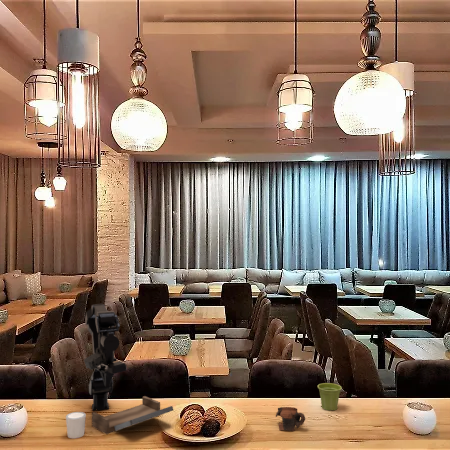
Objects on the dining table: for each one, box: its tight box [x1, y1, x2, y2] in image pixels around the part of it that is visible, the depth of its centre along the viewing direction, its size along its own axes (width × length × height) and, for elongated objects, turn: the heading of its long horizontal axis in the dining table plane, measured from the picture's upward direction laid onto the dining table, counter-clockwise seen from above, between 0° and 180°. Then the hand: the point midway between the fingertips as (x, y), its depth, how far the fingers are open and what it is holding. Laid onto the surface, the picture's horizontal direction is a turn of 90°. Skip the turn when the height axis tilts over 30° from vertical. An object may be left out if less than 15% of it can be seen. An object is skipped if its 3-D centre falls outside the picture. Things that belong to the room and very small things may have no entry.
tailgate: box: [114, 405, 174, 432], centre depth 179 cm, size 2×18×12 cm
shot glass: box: [65, 411, 87, 439], centre depth 175 cm, size 7×7×7 cm
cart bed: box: [91, 395, 161, 435], centre depth 187 cm, size 10×24×5 cm, turn 135°
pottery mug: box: [275, 406, 306, 432], centre depth 181 cm, size 12×10×8 cm
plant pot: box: [317, 382, 343, 411], centre depth 199 cm, size 9×9×9 cm
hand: (106, 386), depth 187 cm, fingers closed
